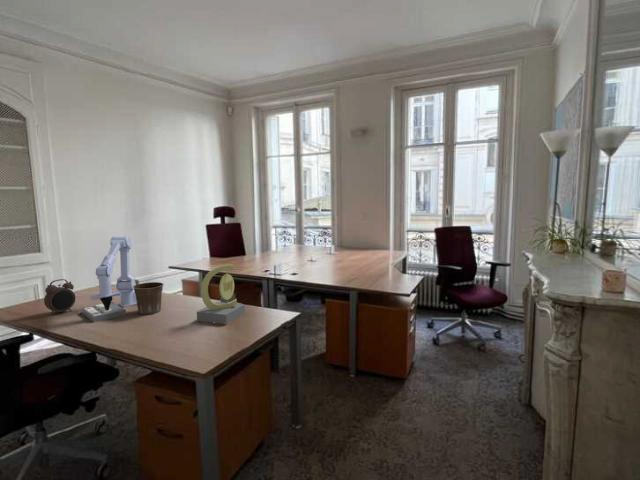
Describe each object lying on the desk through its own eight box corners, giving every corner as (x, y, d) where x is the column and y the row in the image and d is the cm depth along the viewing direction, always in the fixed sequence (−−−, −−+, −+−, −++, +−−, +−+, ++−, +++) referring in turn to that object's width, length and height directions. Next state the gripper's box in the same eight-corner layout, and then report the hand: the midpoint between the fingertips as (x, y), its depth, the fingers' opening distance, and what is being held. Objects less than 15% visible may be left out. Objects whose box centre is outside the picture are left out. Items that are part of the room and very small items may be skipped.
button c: (110, 313, 200) (109, 308, 199) (112, 315, 197) (112, 309, 197) (102, 315, 197) (102, 309, 196) (104, 316, 194) (104, 311, 194)
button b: (106, 309, 204) (105, 304, 204) (108, 310, 202) (107, 305, 201) (99, 311, 201) (98, 305, 201) (100, 312, 199) (100, 307, 198)
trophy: (226, 324, 182) (224, 269, 179) (197, 321, 188) (194, 267, 184) (244, 313, 200) (243, 263, 196) (217, 311, 205) (215, 261, 202)
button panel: (112, 306, 216) (112, 301, 215) (126, 314, 199) (125, 309, 199) (82, 312, 204) (81, 307, 204) (94, 322, 188) (93, 316, 187)
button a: (102, 308, 209) (102, 303, 209) (104, 310, 206) (104, 304, 206) (95, 310, 206) (95, 305, 206) (97, 311, 204) (97, 306, 203)
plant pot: (170, 307, 213) (168, 282, 211) (155, 316, 197) (153, 288, 195) (145, 307, 214) (143, 281, 212) (128, 315, 198) (126, 288, 196)
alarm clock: (50, 317, 197) (47, 283, 195) (44, 315, 200) (41, 281, 198) (78, 310, 209) (75, 277, 207) (72, 308, 213) (69, 276, 211)
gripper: (92, 290, 187) (94, 314, 188) (121, 285, 198) (123, 308, 199) (88, 288, 192) (90, 311, 193) (117, 283, 202) (119, 305, 204)
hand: (107, 309), depth 196 cm, fingers closed, pressing on button c
